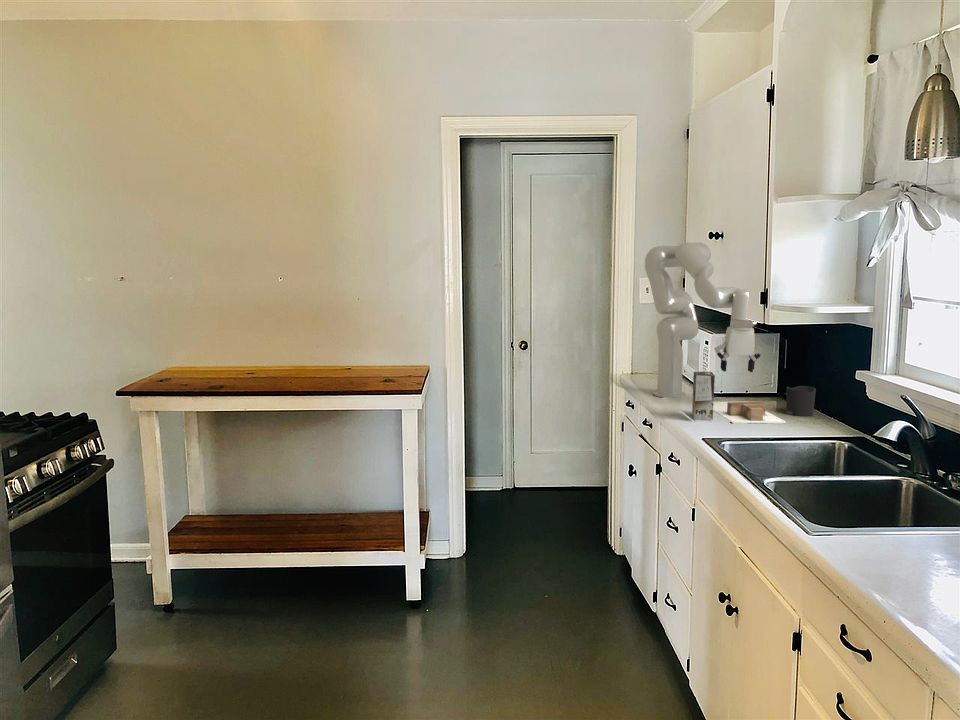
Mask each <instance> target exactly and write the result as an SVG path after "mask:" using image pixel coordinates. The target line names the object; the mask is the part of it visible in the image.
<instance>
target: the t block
mask: <svg viewBox="0 0 960 720" xmlns="http://www.w3.org/2000/svg"><path fill="white" fill-rule="evenodd" d="M727 402H728V403H727V414H729V415H731V416H744V417H746V418H747V419H749V420H751V421H763V415H765V411H766V406H767V405H766V403H764V402H763V401H727Z"/></svg>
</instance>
